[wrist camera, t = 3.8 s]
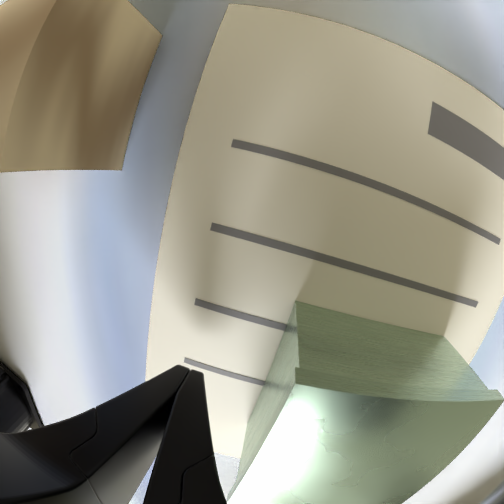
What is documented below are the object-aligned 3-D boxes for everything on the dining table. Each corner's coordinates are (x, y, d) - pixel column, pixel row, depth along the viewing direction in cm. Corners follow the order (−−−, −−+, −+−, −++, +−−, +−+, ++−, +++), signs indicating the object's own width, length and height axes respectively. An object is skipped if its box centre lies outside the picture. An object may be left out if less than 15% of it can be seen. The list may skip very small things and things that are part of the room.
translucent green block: (374, 443, 10) (389, 511, 6) (242, 424, 10) (225, 505, 6) (448, 333, 8) (504, 399, 4) (292, 294, 8) (295, 383, 4)
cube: (122, 170, 8) (-1, 172, 3) (36, 156, 9) (-59, 159, 4) (163, 36, 7) (82, -40, 2) (68, 47, 7) (-13, 14, 2)
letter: (381, 470, 10) (382, 472, 10) (145, 426, 11) (144, 428, 11) (535, 140, 6) (537, 139, 6) (229, 4, 6) (229, 3, 6)
